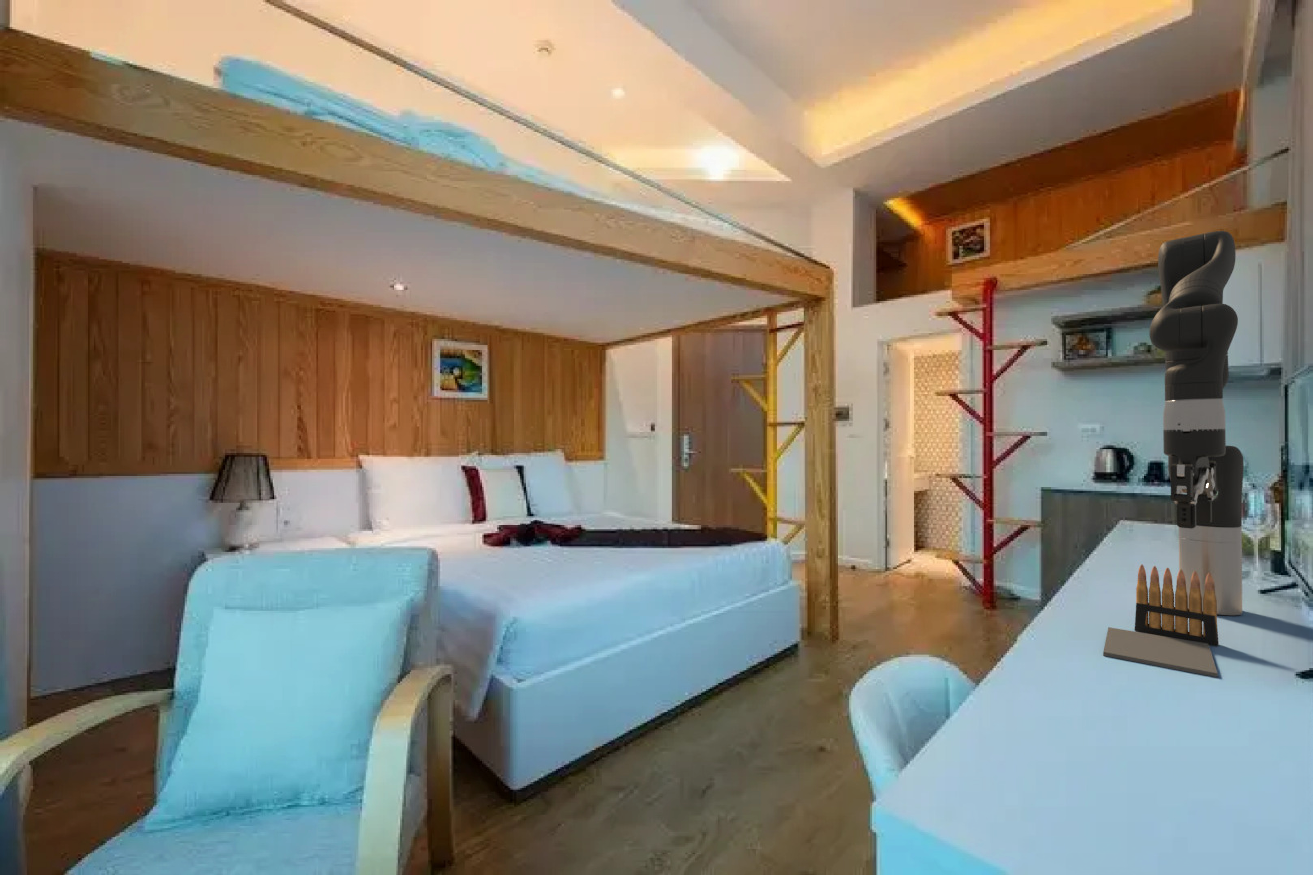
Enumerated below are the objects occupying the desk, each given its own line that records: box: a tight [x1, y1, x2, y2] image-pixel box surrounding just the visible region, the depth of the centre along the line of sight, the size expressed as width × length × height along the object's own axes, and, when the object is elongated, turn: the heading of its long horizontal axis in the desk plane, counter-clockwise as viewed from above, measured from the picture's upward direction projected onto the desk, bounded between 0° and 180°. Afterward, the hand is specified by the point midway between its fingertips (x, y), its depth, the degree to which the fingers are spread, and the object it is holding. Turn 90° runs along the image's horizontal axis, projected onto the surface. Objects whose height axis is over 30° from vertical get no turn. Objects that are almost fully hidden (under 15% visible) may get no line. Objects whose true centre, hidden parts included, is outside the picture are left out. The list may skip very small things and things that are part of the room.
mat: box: [1102, 626, 1219, 678], centre depth 93 cm, size 16×13×1 cm
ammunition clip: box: [1134, 564, 1220, 648], centre depth 100 cm, size 11×2×12 cm, turn 41°
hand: (1194, 525), depth 95 cm, fingers open, 8 cm apart
